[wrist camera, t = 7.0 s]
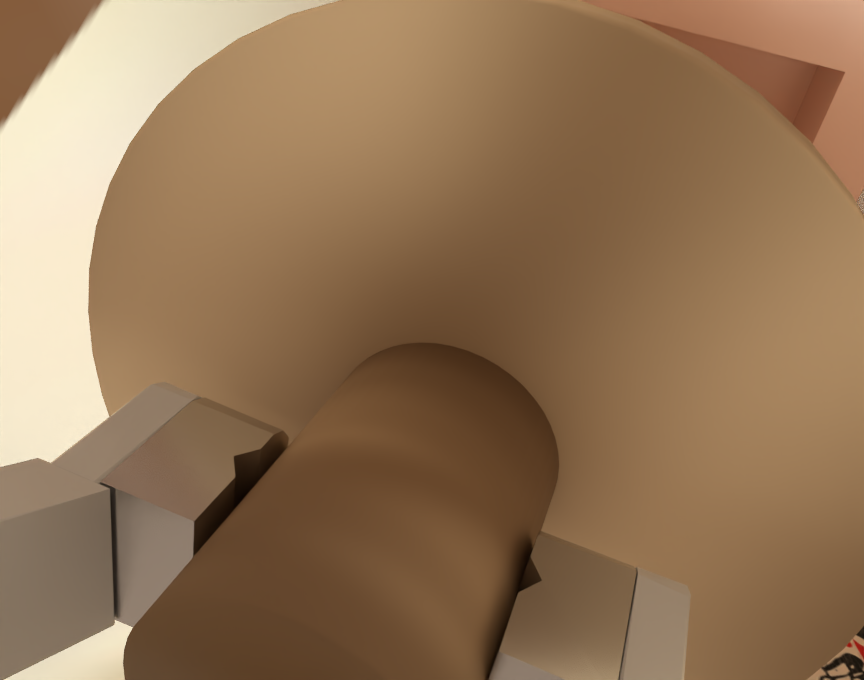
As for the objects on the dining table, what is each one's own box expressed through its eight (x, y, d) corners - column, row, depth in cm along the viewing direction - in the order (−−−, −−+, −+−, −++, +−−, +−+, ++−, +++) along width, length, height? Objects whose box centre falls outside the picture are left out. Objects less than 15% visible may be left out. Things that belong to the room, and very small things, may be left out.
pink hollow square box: (902, -6, 18) (948, 20, 14) (732, 358, 23) (728, 456, 19) (486, -105, 20) (415, -108, 16) (415, 252, 25) (348, 320, 21)
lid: (1151, 147, 7) (1771, 511, 3) (706, 792, 12) (684, 1241, 8) (123, -119, 8) (-433, -144, 4) (131, 539, 14) (-122, 797, 10)
